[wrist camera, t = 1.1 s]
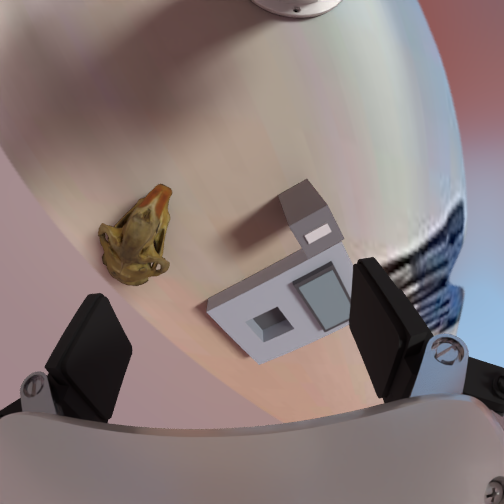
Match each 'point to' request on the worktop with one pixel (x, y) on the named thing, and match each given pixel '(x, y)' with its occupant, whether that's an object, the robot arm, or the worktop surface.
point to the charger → (309, 218)
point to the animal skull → (138, 239)
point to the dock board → (287, 303)
